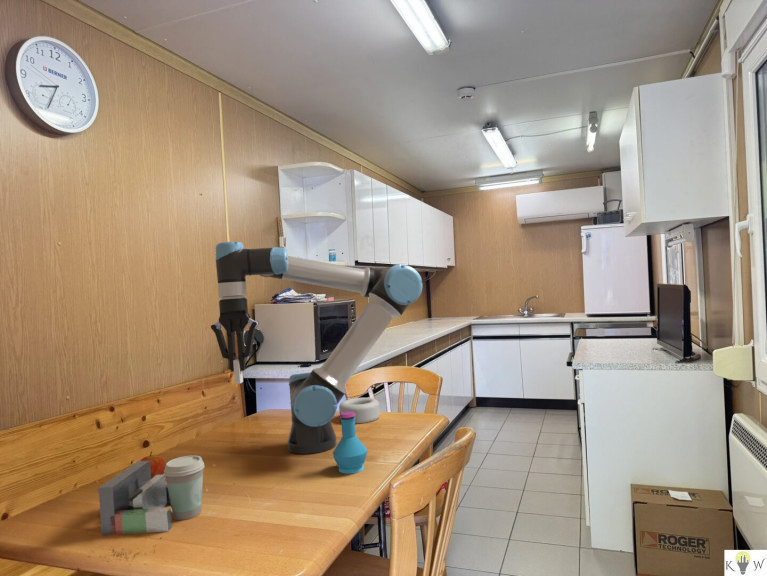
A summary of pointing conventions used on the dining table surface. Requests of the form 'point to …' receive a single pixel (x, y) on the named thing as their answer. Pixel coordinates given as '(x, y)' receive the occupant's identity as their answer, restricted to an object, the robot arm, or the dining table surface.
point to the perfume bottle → (349, 447)
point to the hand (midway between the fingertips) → (239, 382)
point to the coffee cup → (185, 486)
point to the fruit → (155, 464)
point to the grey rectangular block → (150, 494)
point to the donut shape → (361, 409)
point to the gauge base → (118, 508)
